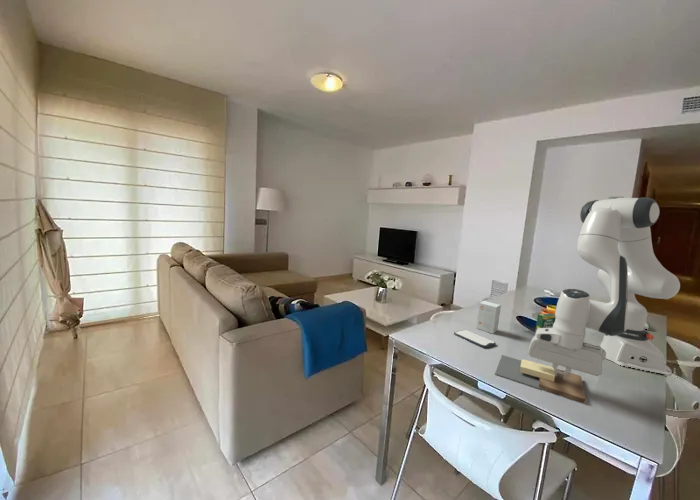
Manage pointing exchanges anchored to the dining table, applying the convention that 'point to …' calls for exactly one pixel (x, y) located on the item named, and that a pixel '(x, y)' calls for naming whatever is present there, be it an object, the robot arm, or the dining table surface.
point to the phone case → (475, 339)
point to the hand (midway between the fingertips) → (559, 377)
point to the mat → (515, 372)
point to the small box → (488, 316)
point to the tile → (537, 370)
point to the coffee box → (545, 321)
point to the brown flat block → (565, 386)
